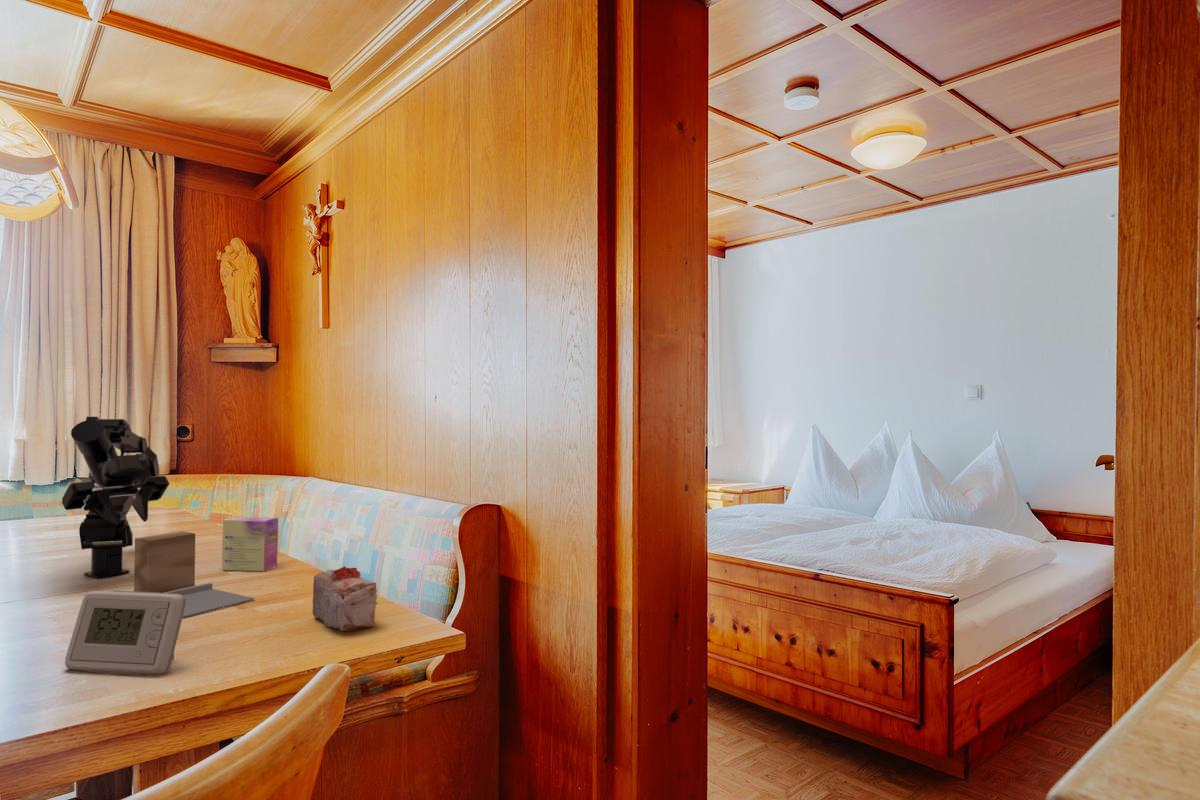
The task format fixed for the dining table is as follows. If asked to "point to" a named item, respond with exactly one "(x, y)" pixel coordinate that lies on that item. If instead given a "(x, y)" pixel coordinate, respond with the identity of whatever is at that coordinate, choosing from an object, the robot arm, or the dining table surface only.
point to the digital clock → (126, 632)
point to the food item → (344, 599)
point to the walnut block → (164, 562)
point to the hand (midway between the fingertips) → (132, 521)
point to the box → (249, 543)
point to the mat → (207, 599)
